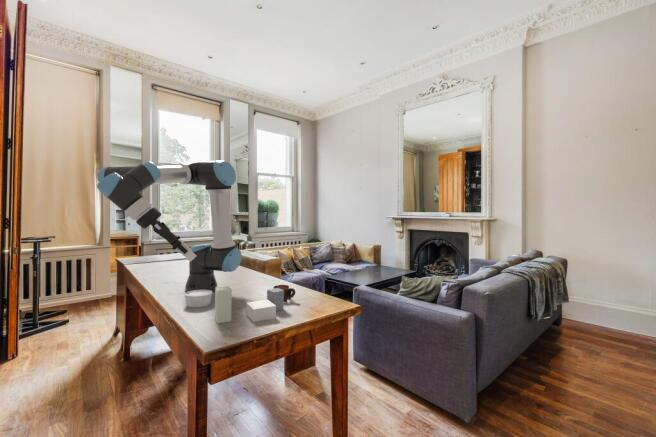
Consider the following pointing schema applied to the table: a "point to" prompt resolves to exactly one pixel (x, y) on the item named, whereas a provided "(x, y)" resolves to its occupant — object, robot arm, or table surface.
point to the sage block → (223, 304)
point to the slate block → (276, 297)
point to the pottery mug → (286, 291)
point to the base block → (260, 310)
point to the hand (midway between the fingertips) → (191, 255)
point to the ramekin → (198, 298)
